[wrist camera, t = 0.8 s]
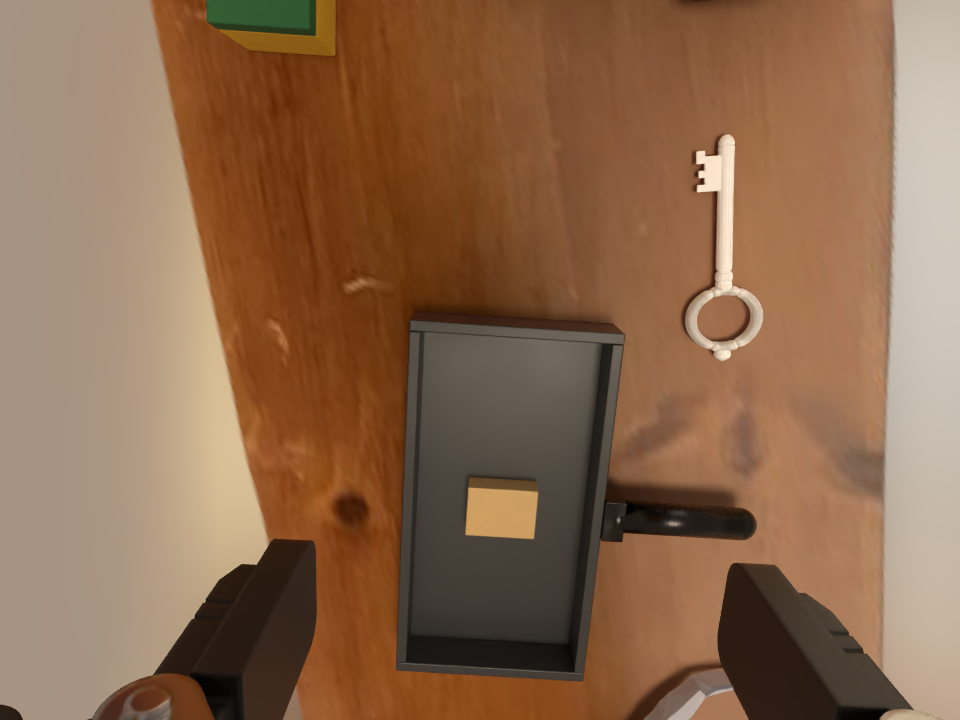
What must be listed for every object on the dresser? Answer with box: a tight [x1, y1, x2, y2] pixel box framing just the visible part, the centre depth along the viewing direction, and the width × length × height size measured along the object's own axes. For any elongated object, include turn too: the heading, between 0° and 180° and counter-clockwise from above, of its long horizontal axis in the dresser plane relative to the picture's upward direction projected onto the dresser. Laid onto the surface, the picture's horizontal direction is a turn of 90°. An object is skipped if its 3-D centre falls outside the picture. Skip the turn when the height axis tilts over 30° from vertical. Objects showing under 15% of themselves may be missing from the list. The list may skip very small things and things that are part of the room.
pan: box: [396, 311, 625, 681], centre depth 36 cm, size 21×11×3 cm, turn 176°
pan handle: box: [600, 488, 757, 542], centre depth 36 cm, size 2×9×2 cm, turn 87°
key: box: [685, 135, 763, 361], centre depth 34 cm, size 12×1×4 cm
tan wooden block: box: [465, 477, 538, 539], centre depth 37 cm, size 3×4×2 cm
